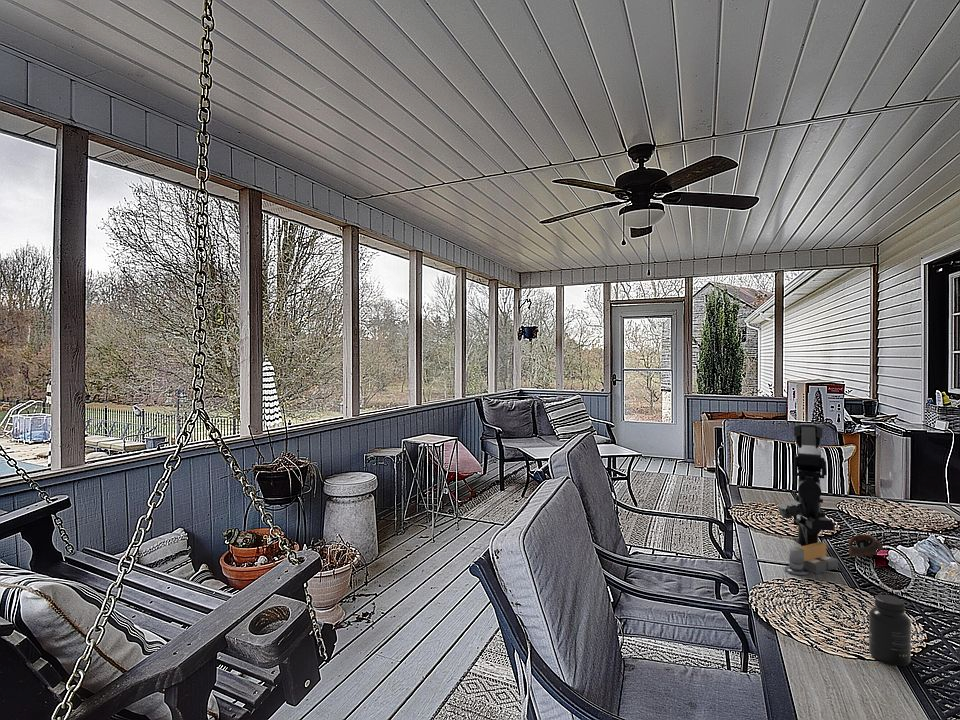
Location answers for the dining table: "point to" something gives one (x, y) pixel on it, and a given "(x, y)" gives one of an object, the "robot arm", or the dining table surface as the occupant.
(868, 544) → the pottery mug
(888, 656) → the supplement bottle
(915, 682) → the dining table surface
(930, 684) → the dining table surface
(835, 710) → the dining table surface
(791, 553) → the bar
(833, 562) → the tile
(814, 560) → the tile
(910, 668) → the dining table surface
